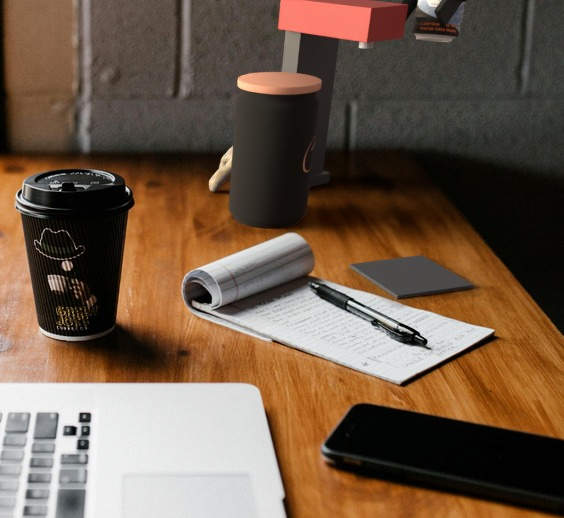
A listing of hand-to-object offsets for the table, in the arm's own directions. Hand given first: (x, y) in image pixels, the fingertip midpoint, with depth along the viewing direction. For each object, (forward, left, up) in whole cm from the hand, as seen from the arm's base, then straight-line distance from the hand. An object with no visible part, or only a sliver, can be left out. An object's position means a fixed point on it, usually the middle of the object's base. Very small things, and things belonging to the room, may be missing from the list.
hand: (419, 16), depth 114 cm
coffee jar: (+21, +2, -24) cm, 32 cm away
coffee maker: (+8, -6, -24) cm, 26 cm away
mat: (+15, +27, -24) cm, 40 cm away
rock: (+18, -18, -24) cm, 35 cm away
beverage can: (-3, -1, -4) cm, 5 cm away
